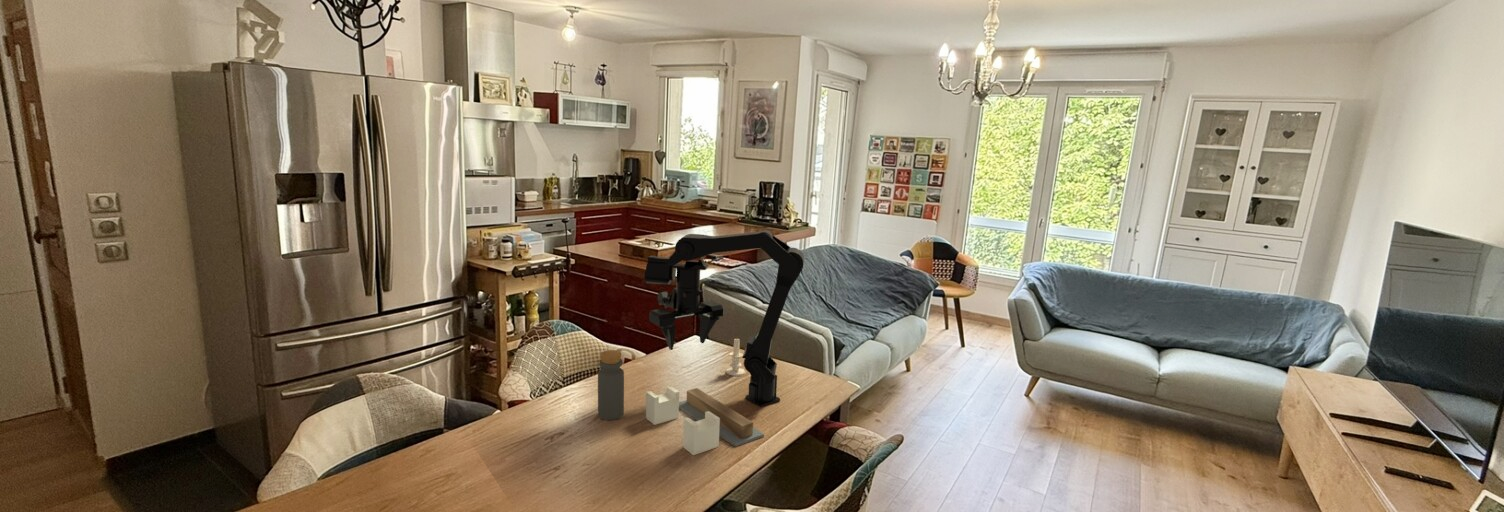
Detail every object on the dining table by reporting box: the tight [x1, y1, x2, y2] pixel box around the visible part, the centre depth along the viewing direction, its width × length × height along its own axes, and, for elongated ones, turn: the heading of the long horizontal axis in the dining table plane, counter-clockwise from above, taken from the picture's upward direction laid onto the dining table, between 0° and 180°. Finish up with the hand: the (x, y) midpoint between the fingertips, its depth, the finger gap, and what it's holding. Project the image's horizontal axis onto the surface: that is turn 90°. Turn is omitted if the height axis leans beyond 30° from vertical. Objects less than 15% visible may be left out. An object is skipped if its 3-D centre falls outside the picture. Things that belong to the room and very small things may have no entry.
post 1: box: [645, 385, 680, 426], centre depth 139 cm, size 6×4×6 cm, turn 129°
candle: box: [725, 338, 746, 377], centre depth 168 cm, size 5×5×10 cm
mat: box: [679, 399, 765, 448], centre depth 140 cm, size 8×24×1 cm, turn 39°
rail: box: [686, 387, 754, 439], centre depth 140 cm, size 3×22×3 cm, turn 39°
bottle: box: [597, 349, 625, 421], centre depth 139 cm, size 6×6×15 cm
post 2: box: [682, 411, 720, 456], centre depth 127 cm, size 6×4×6 cm, turn 129°
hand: (686, 346), depth 152 cm, fingers open, 9 cm apart
